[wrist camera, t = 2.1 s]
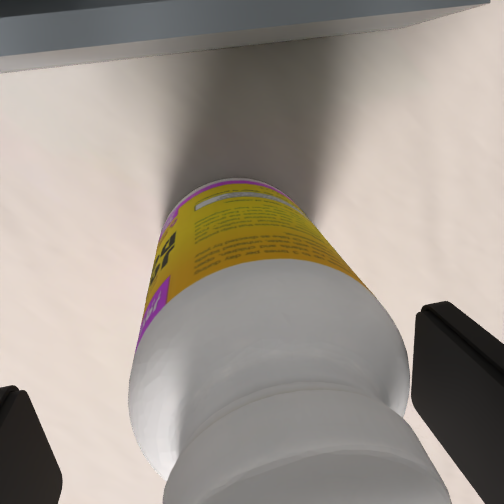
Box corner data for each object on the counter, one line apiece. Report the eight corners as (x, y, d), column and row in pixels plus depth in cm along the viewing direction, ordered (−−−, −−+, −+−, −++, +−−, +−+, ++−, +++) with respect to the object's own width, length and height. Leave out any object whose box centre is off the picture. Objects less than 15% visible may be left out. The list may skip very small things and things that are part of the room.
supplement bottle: (156, 171, 16) (61, 396, 4) (314, 176, 17) (582, 371, 5) (160, 314, 19) (105, 703, 7) (298, 312, 20) (457, 649, 8)
